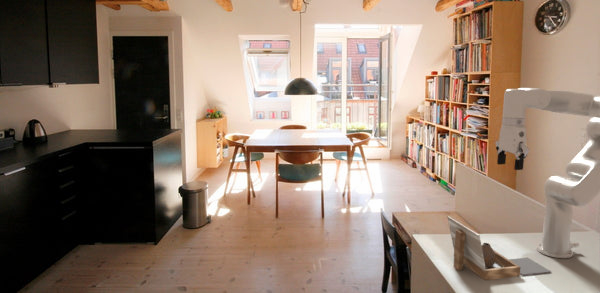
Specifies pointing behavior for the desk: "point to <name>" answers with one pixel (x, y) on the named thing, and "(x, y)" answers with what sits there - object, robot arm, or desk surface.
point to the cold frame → (477, 254)
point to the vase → (488, 255)
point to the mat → (529, 266)
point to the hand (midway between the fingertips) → (509, 166)
